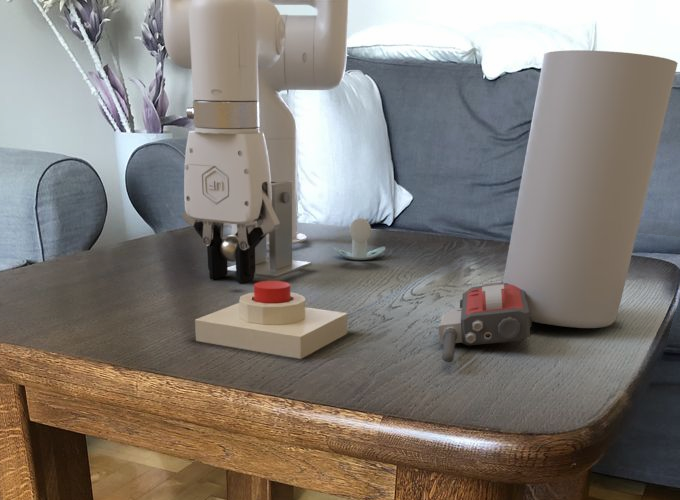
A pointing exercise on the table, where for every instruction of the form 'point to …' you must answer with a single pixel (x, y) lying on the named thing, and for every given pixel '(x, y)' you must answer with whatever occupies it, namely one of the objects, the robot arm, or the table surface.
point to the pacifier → (360, 242)
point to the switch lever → (230, 246)
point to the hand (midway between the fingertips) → (232, 277)
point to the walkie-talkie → (486, 317)
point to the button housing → (272, 327)
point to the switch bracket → (277, 238)
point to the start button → (272, 292)
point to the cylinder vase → (586, 182)
